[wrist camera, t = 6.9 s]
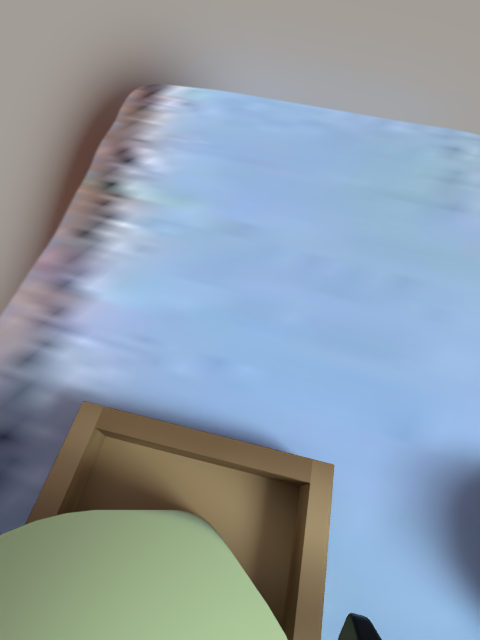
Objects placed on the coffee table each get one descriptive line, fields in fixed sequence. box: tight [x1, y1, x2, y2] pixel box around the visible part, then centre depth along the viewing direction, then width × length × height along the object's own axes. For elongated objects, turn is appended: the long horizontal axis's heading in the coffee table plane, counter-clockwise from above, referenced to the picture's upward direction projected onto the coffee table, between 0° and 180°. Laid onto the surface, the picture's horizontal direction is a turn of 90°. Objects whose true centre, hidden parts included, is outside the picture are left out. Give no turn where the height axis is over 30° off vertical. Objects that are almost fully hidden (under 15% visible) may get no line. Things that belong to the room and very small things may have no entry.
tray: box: [25, 401, 334, 640], centre depth 14 cm, size 12×12×3 cm
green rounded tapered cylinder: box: [0, 510, 288, 640], centre depth 9 cm, size 6×6×13 cm
